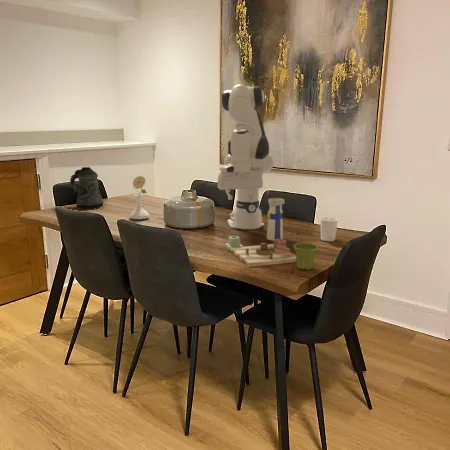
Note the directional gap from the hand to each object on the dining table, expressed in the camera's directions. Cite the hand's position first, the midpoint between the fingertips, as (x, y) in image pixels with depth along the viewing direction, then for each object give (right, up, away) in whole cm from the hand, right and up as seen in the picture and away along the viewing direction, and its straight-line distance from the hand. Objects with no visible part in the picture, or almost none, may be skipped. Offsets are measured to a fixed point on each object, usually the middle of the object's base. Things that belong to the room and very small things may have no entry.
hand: (240, 199), depth 201 cm
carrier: (+10, -25, -7) cm, 27 cm away
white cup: (+43, -19, +19) cm, 51 cm away
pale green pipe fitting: (-3, -22, +5) cm, 22 cm away
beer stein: (-94, 0, +89) cm, 129 cm away
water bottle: (+17, -18, +20) cm, 32 cm away
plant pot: (+25, -28, -20) cm, 43 cm away
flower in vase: (-55, -8, +58) cm, 80 cm away
